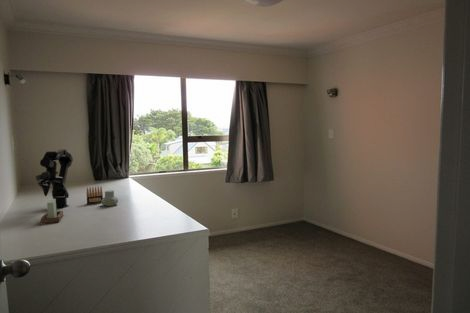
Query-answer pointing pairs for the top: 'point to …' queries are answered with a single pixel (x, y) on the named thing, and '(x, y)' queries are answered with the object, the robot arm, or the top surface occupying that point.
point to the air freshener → (109, 198)
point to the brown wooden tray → (52, 220)
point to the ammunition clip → (94, 195)
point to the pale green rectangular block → (51, 208)
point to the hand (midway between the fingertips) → (49, 195)
